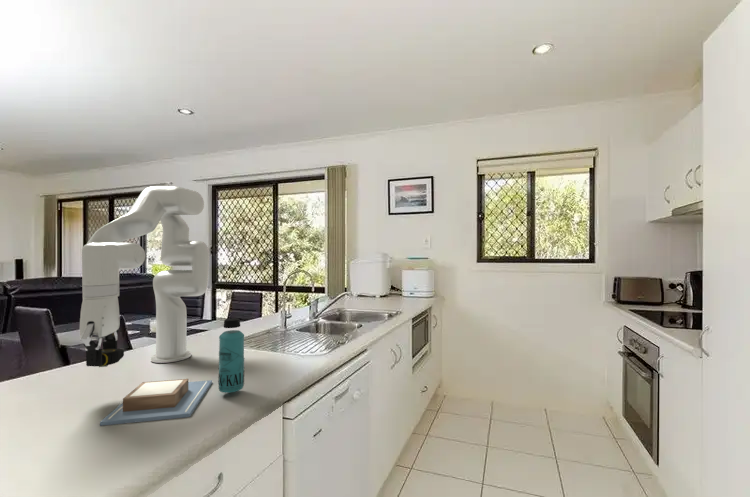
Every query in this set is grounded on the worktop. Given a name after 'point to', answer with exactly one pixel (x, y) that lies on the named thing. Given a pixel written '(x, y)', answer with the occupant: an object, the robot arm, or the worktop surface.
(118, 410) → the board
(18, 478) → the worktop surface
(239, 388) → the beverage bottle
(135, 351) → the worktop surface
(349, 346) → the worktop surface
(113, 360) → the tape measure
